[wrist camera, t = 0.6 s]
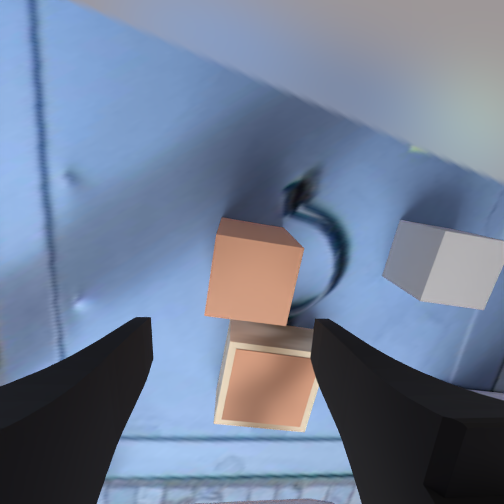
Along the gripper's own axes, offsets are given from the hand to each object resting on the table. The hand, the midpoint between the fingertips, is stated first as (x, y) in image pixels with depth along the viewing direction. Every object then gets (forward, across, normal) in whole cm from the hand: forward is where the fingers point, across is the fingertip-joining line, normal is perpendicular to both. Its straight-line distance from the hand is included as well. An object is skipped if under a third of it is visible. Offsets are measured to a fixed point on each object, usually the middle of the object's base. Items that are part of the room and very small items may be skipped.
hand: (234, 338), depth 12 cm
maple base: (+9, -3, +8) cm, 12 cm away
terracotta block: (+9, -1, -2) cm, 9 cm away
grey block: (+9, -14, -2) cm, 17 cm away
